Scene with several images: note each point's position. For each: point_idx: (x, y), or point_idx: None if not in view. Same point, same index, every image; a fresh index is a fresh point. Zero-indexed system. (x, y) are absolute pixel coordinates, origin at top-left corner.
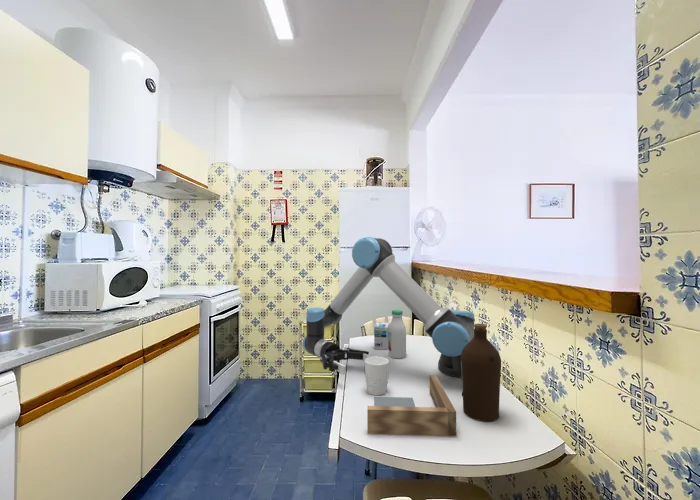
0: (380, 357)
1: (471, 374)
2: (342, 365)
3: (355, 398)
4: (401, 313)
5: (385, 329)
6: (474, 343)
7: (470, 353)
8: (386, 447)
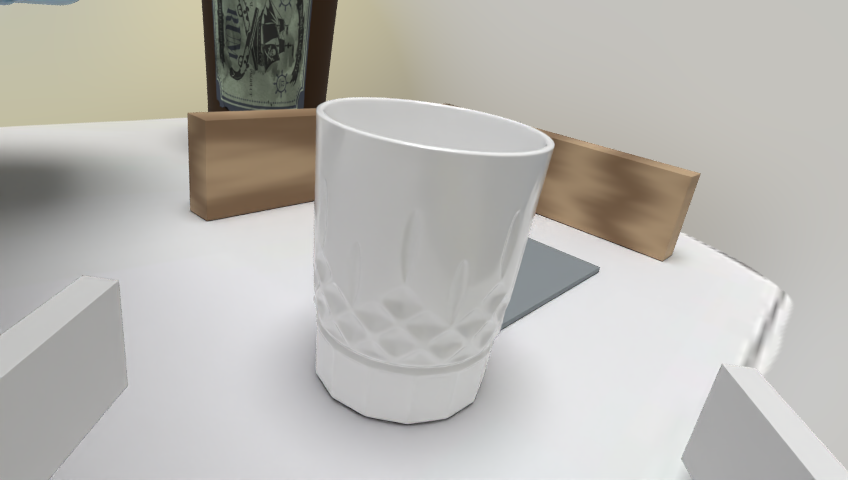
0: (329, 118)
1: (335, 11)
2: (773, 397)
3: (613, 395)
4: None
5: None
6: None
7: None
8: None
